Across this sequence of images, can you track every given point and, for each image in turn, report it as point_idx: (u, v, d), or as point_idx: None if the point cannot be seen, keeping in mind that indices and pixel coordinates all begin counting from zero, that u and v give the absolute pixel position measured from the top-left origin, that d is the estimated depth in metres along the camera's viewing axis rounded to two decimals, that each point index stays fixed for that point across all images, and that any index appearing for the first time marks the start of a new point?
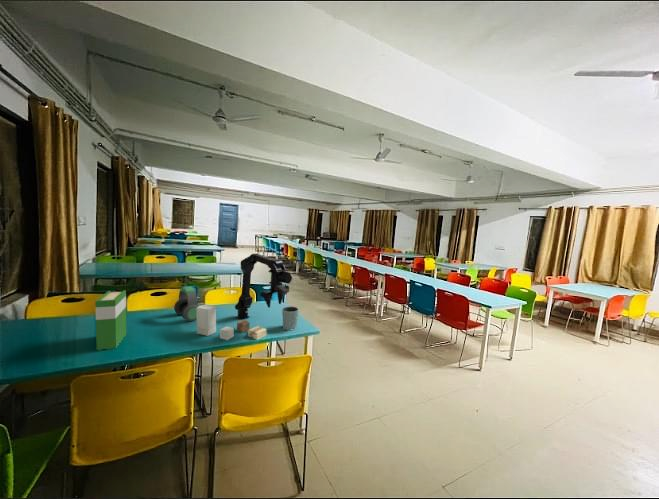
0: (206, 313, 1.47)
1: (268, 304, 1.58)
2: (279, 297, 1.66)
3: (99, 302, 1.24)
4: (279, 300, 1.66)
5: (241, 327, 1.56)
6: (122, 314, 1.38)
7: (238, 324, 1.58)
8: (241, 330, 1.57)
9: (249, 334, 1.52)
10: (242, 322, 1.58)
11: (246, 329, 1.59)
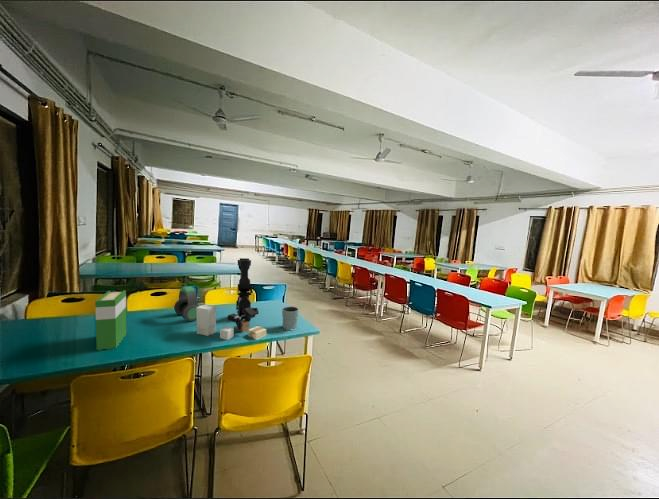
0: (206, 313, 1.47)
1: (238, 326, 1.56)
2: (246, 320, 1.62)
3: (99, 302, 1.24)
4: None
5: (241, 327, 1.56)
6: (122, 314, 1.38)
7: None
8: (241, 330, 1.57)
9: (249, 334, 1.52)
10: (242, 322, 1.58)
11: (246, 329, 1.59)
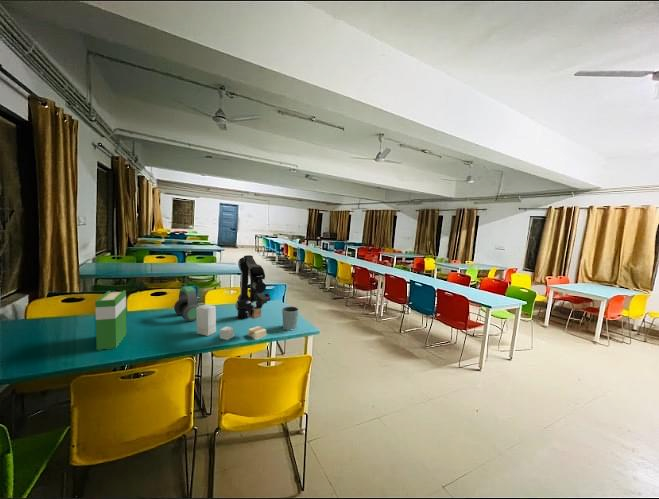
0: (206, 313, 1.47)
1: (250, 313, 1.50)
2: None
3: (99, 302, 1.24)
4: None
5: (253, 313, 1.50)
6: (122, 314, 1.38)
7: None
8: (253, 316, 1.50)
9: (249, 333, 1.52)
10: (253, 308, 1.52)
11: (258, 316, 1.52)
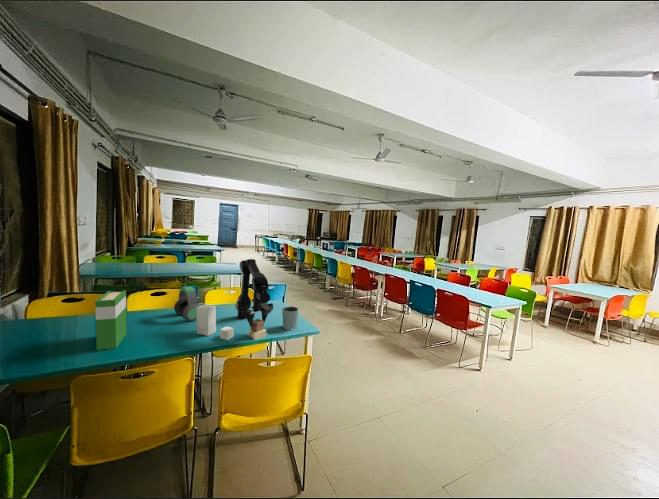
0: (206, 313, 1.47)
1: (250, 324, 1.48)
2: (263, 315, 1.56)
3: (99, 302, 1.24)
4: (263, 318, 1.56)
5: (255, 326, 1.50)
6: (122, 314, 1.38)
7: None
8: (255, 329, 1.50)
9: (249, 333, 1.52)
10: (256, 321, 1.52)
11: (260, 328, 1.52)
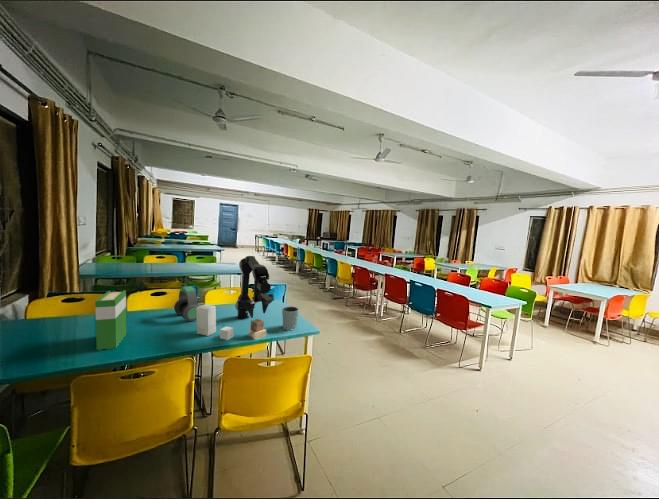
0: (206, 313, 1.47)
1: (251, 314, 1.48)
2: (263, 306, 1.56)
3: (99, 302, 1.24)
4: (263, 309, 1.56)
5: (255, 326, 1.50)
6: (122, 314, 1.38)
7: (252, 323, 1.51)
8: (255, 329, 1.50)
9: (249, 333, 1.52)
10: (256, 321, 1.52)
11: (260, 328, 1.52)
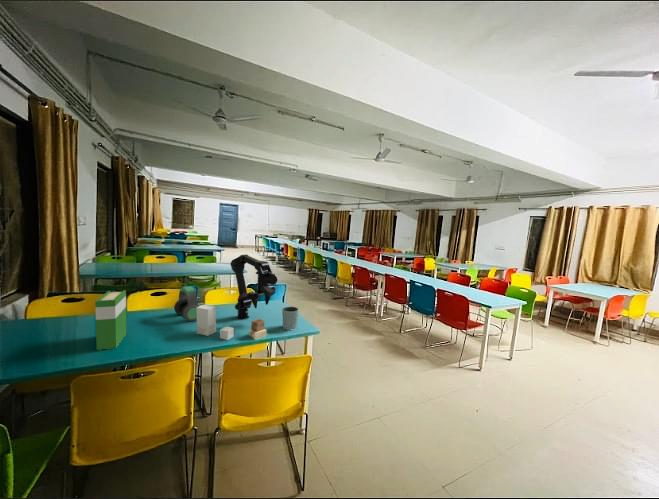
0: (206, 313, 1.47)
1: (255, 305, 1.62)
2: (266, 298, 1.71)
3: (99, 302, 1.24)
4: (266, 301, 1.71)
5: (256, 326, 1.50)
6: (122, 314, 1.38)
7: (253, 323, 1.51)
8: (256, 329, 1.50)
9: (249, 333, 1.52)
10: (257, 321, 1.52)
11: (261, 328, 1.52)
